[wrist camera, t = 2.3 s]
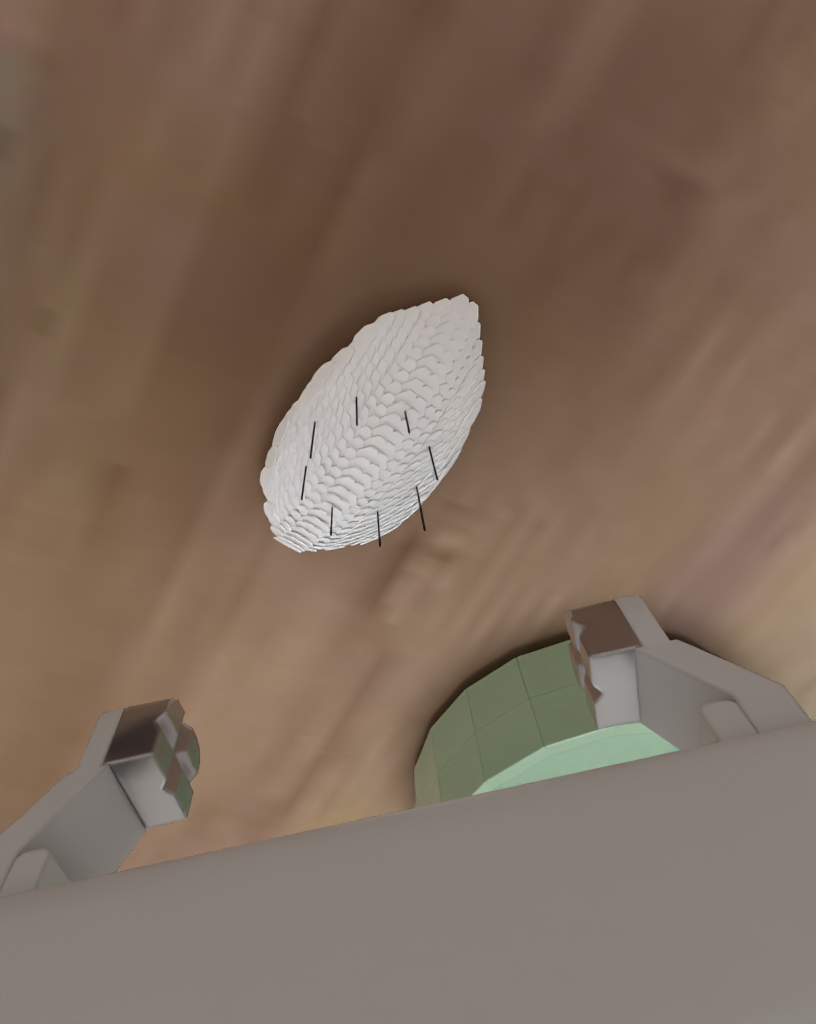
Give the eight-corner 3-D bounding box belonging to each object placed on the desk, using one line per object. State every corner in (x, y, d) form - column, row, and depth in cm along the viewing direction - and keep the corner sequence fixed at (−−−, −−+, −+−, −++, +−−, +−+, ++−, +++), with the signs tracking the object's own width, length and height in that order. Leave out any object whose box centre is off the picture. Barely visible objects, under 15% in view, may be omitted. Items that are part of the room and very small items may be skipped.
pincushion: (399, 241, 24) (411, 270, 19) (532, 346, 26) (575, 396, 21) (218, 501, 28) (189, 580, 23) (346, 575, 30) (345, 662, 25)
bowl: (790, 613, 33) (874, 705, 28) (723, 864, 41) (778, 972, 36) (408, 639, 32) (420, 739, 27) (417, 890, 40) (427, 1005, 35)
